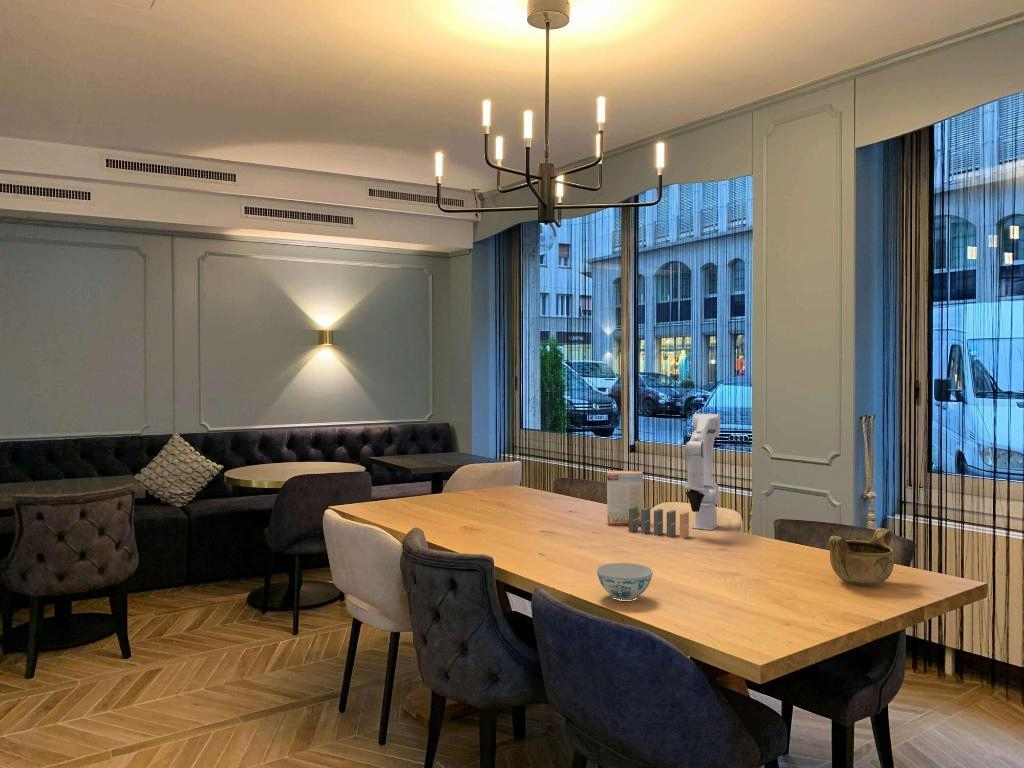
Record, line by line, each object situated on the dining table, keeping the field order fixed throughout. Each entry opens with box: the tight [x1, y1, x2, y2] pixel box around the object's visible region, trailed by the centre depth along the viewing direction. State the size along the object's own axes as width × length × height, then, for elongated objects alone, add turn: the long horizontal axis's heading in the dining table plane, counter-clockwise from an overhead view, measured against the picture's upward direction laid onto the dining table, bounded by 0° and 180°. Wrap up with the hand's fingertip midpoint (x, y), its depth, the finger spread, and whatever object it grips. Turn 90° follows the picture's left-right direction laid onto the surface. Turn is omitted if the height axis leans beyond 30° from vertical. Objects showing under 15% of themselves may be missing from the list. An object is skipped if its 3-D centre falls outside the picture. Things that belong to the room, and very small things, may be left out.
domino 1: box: [640, 507, 651, 534], centre depth 289 cm, size 5×2×9 cm, turn 147°
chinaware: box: [596, 562, 654, 600], centre depth 208 cm, size 15×15×8 cm
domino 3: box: [666, 509, 677, 538], centre depth 284 cm, size 5×2×9 cm, turn 147°
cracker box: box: [606, 470, 644, 526], centre depth 304 cm, size 14×6×21 cm, turn 84°
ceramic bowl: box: [828, 527, 895, 588], centre depth 220 cm, size 22×17×15 cm
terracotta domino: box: [679, 511, 690, 540], centre depth 281 cm, size 5×2×9 cm, turn 148°
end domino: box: [628, 506, 639, 533], centre depth 292 cm, size 5×2×9 cm, turn 147°
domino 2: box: [653, 508, 664, 536], centre depth 286 cm, size 5×2×9 cm, turn 147°
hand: (695, 511), depth 279 cm, fingers closed
